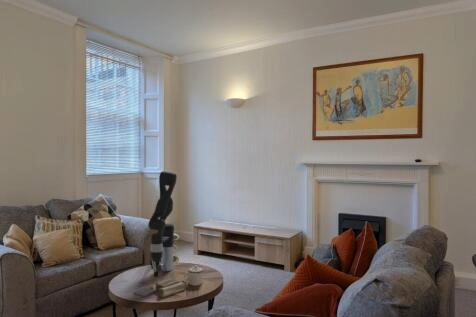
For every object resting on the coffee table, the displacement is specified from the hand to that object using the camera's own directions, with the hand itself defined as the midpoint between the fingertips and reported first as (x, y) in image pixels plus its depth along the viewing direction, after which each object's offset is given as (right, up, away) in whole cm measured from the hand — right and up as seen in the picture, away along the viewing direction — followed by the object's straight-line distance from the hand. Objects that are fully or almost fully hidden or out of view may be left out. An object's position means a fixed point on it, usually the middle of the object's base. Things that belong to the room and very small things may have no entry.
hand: (156, 276), depth 214 cm
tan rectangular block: (+9, -6, -7) cm, 13 cm away
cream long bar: (+13, -6, -11) cm, 18 cm away
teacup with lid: (+23, -6, +3) cm, 24 cm away
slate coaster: (-4, -5, -13) cm, 14 cm away
